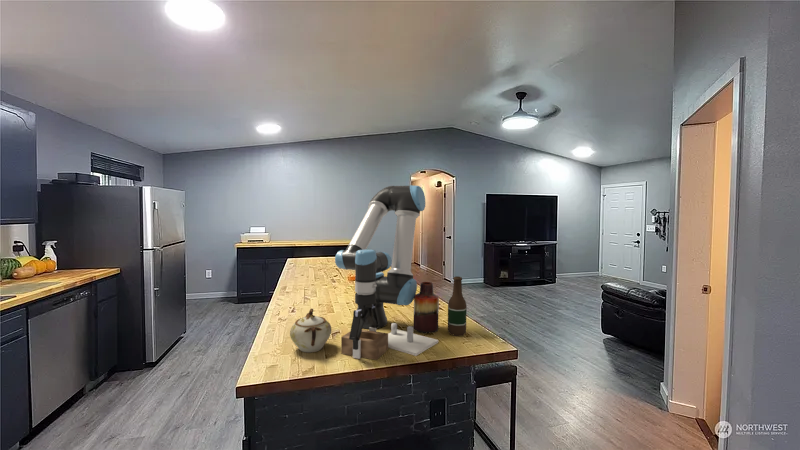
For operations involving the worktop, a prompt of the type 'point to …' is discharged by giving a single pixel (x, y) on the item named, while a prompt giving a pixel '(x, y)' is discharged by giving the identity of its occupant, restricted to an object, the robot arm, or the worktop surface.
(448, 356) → the worktop surface
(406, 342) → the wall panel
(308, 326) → the sugar bowl
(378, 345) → the frame
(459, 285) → the beer bottle
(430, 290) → the vase
